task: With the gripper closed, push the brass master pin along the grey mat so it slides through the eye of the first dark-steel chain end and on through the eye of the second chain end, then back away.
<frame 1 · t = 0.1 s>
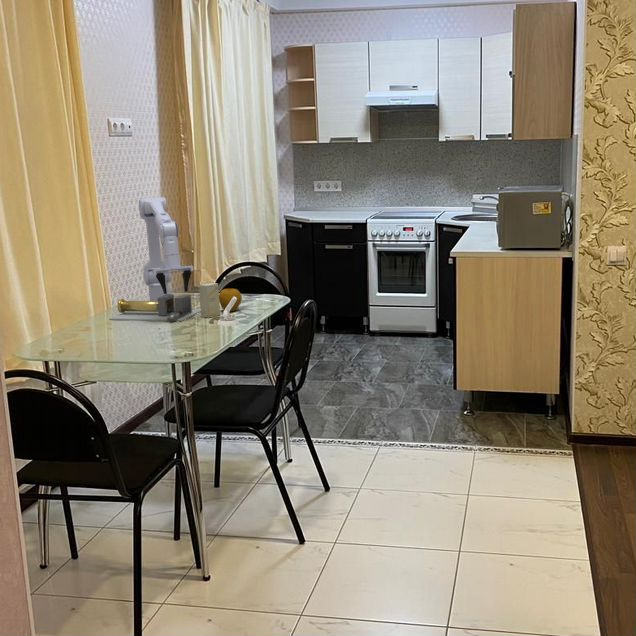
hand: (175, 292, 300), 11 cm above the table, tool pointing down, fingers open, 7 cm apart
skincare box: (210, 316, 309), on the table
master pin: (143, 306, 315), point 4 cm above the table, slide at 0.0 cm
mat: (156, 315, 314), on the table
chain end b: (184, 316, 311), resting on mat
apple: (231, 311, 317), on the table
white lever switch: (228, 324, 294), on the table
chain end a: (167, 315, 313), resting on mat
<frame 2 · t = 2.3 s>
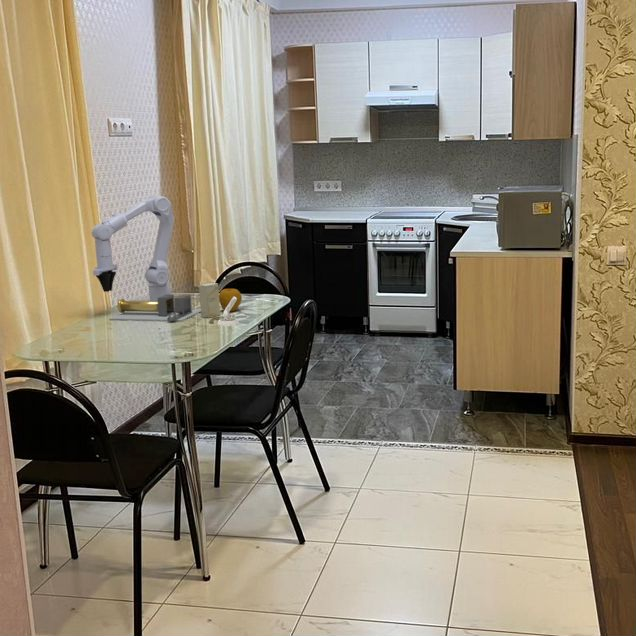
hand: (107, 291, 318), 9 cm above the table, tool pointing down, fingers closed
nothing on the table moved.
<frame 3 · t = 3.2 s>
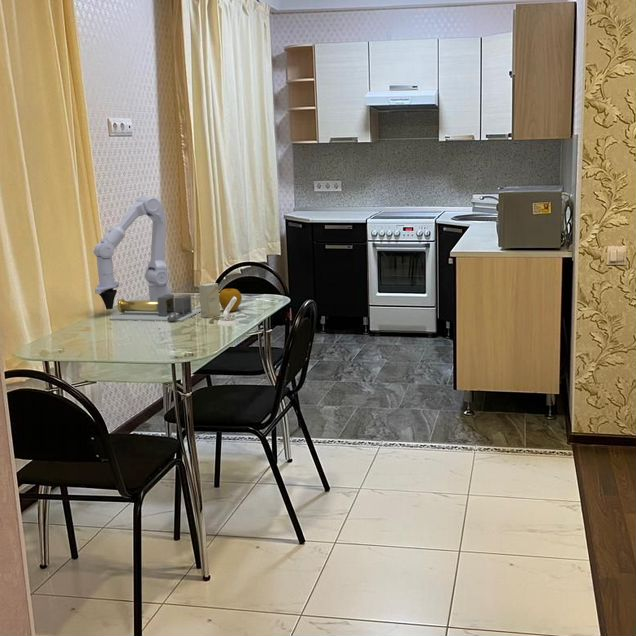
hand: (109, 308, 320), 2 cm above the table, tool pointing down, fingers closed
nothing on the table moved.
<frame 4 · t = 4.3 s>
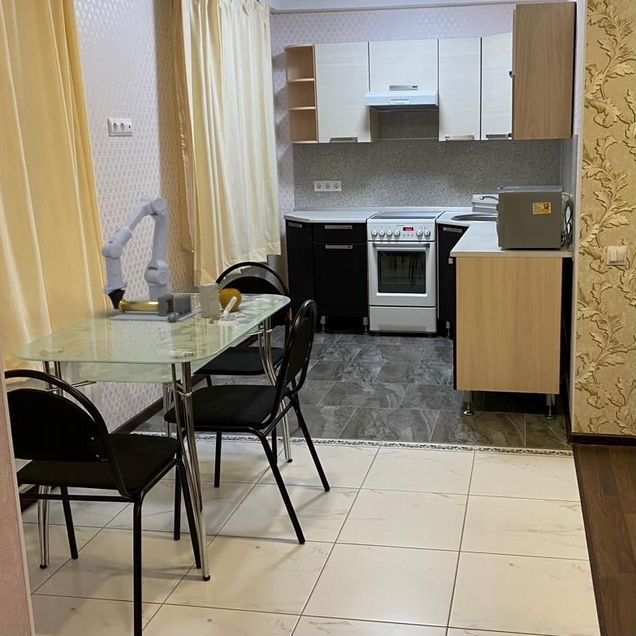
hand: (117, 309, 319), 2 cm above the table, tool pointing down, fingers closed, pressing on master pin
master pin: (144, 306, 315), point 4 cm above the table, slide at 0.4 cm, touching gripper
everything else where it was.
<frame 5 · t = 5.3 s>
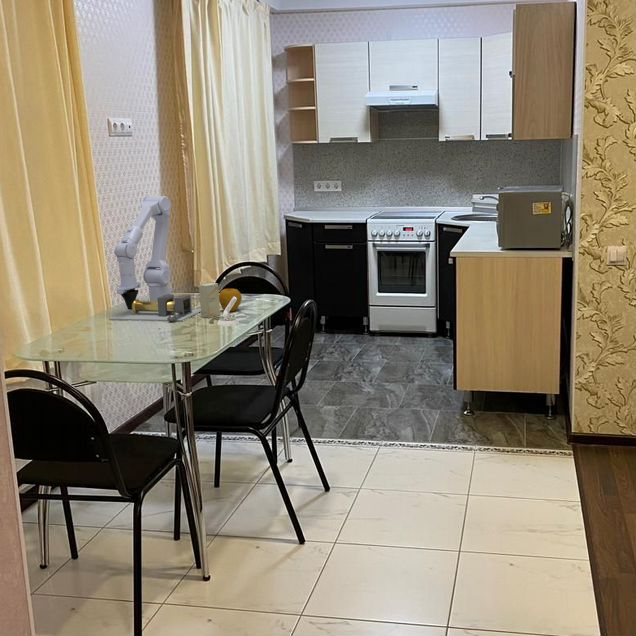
hand: (131, 309, 317), 2 cm above the table, tool pointing down, fingers closed, pressing on master pin
master pin: (158, 306, 313), point 4 cm above the table, slide at 6.2 cm, touching gripper
everything else where it was.
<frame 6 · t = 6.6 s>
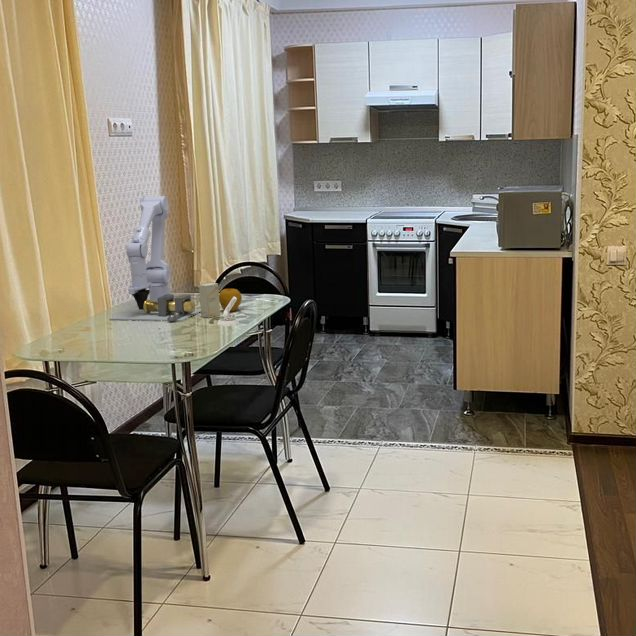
hand: (142, 309, 315), 2 cm above the table, tool pointing down, fingers closed, pressing on master pin
master pin: (169, 306, 312), point 4 cm above the table, slide at 11.0 cm, touching gripper
everything else where it was.
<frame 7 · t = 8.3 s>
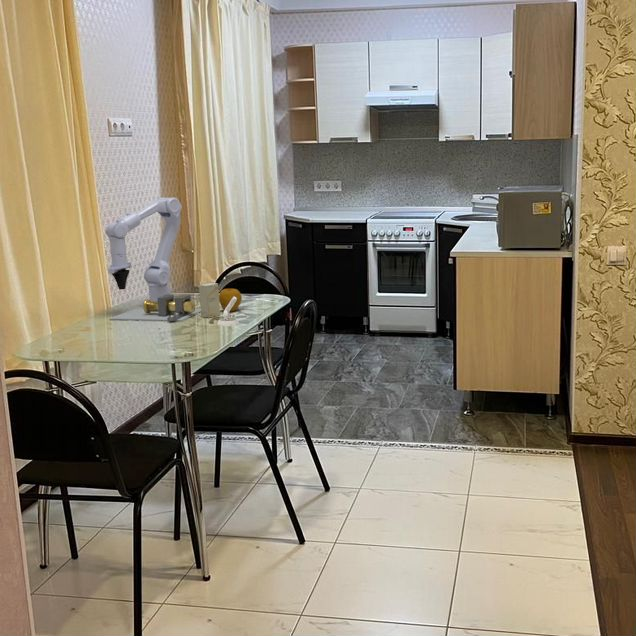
hand: (122, 289, 318), 10 cm above the table, tool pointing down, fingers closed
master pin: (169, 306, 312), point 4 cm above the table, slide at 11.0 cm
everything else where it was.
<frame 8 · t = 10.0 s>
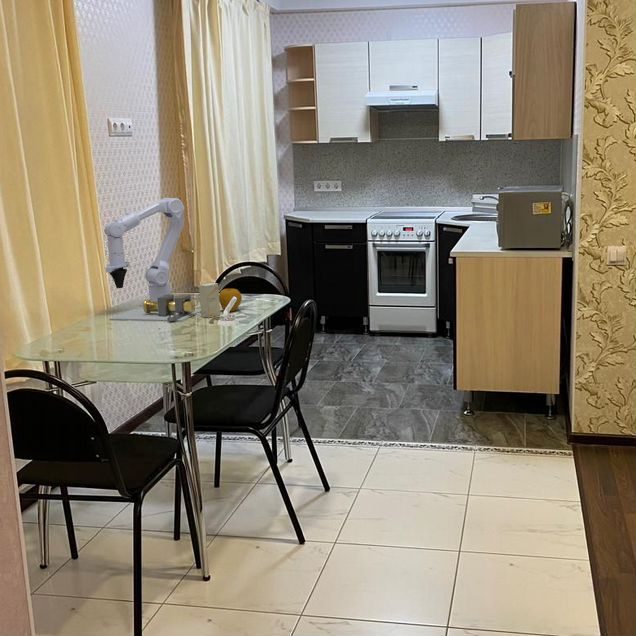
hand: (119, 288, 321), 10 cm above the table, tool pointing down, fingers closed
nothing on the table moved.
at the end: master pin slide at 11.0 cm; master pin touching nothing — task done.
